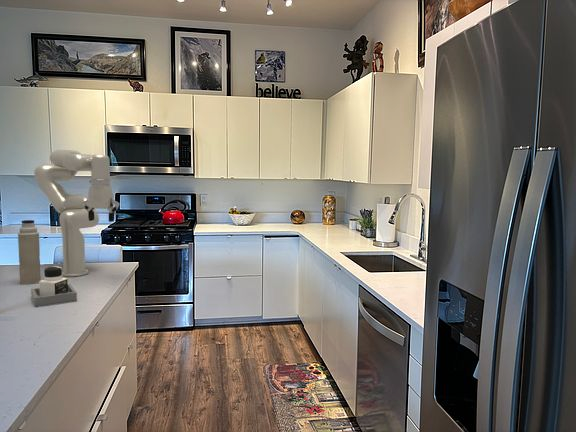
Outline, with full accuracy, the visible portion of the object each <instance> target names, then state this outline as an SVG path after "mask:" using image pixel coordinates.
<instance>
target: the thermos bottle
mask: <svg viewBox="0 0 576 432" xmlns="http://www.w3.org/2000/svg"><path fill="white" fill-rule="evenodd" d="M17 243H18V263H19V268H18V269H19V283H20V284H21V285H33V284H37V283H38V284H39V281H41V280H42V279H41V278H42V277H41V275H42V274H41V259H40V256H41V255H40V254H41V253H40V232H39V231H38V227H36V226H35V220H33V219H31V220H30V219H27V220H25V219H24V220H21V227H20V228H19V232H18V233H17Z"/></svg>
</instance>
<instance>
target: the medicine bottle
mask: <svg viewBox="0 0 576 432" xmlns="http://www.w3.org/2000/svg"><path fill="white" fill-rule="evenodd" d="M62 271H63V267H60V266H57V265H56V266H55V265H54V266H48V267H45V269H44V272H43V273H44V279H41V281H39V282H38V288H39V290H40V297H41V296H49V295H56V294H63V293H68V284H69V283H68V278H67V277H63V276H62Z"/></svg>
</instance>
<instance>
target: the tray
mask: <svg viewBox="0 0 576 432" xmlns="http://www.w3.org/2000/svg"><path fill="white" fill-rule="evenodd" d="M30 295H31V300H32V302H33V305H34V307H35V308H39V307H45V306H53V305H59V304H67V303H73V302H78V296H77V295H78V292H77V291H76V289H74V287H73V286H72V285H71V284H70V283H68V293H63V294H56V295H49V296H41V297H40V290H39V287H35V288H31V289H30Z"/></svg>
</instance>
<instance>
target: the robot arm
mask: <svg viewBox="0 0 576 432" xmlns="http://www.w3.org/2000/svg"><path fill="white" fill-rule="evenodd" d="M49 161H50V163H46V164H45V163H44V164H40V165H37V167H35V169H34V174H33V175H34V179H35V180H34V181H35V183H36V184H37V186H38V188H39V189H40V190H41V191H42V192H43V194H45V196H46V197H47V199H48V200H49V202H50V203H51V205H52V206H53V208H54V210H55V211H56V212H57V213H59V214H60V215H59V225H60V229H61V237H62V239H61V240H62V241H61V242H62V265H63V266H62V277H65V278H67V277H73V278H74V277H80V276H85V275H87V274H89V273H90V271H89V269H88V268H86V250H85V248H86V247H85V244H86V243H85V236H84V234H83V233H82V232H81V230H80V229H88V228H89V229H90V228H94V227H96V226H98V225H99V221H100V218H99V217H100V216H99V214H98V211H97V210H96V209H103V210H106V209H107V211H109V212H108V222H109V223H112V222H115V213H116V211H118V210H119V206H120V202H118V201H116V200H115V199H114V192H113V188H112V186H111V177H110V176H111V174H110V171H111V169H110V167H111V166H110V164H111V163H110V157H109V156H108V155H103V154H101V155H100V154H86V153H85V154H84V153H81V152H80V151H78V150H71V149H70V150H68V149H56V150H53V151H52V152H51V153H50V155H49ZM78 172H91V173H90V175H91V176H90V177H91V179H90V180H89V181H88V183H89V184H91V185H90V186H89V189H88V193H87V194H88V195H87V196H86V195H84V194H82V193H81V194H80V193H68V192H67V191H66V189H65V188H64V187H63V185H61V184H59V183H57V182H69V181H72V180H73V179H74V178H75V176H76V174H77V173H78Z"/></svg>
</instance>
